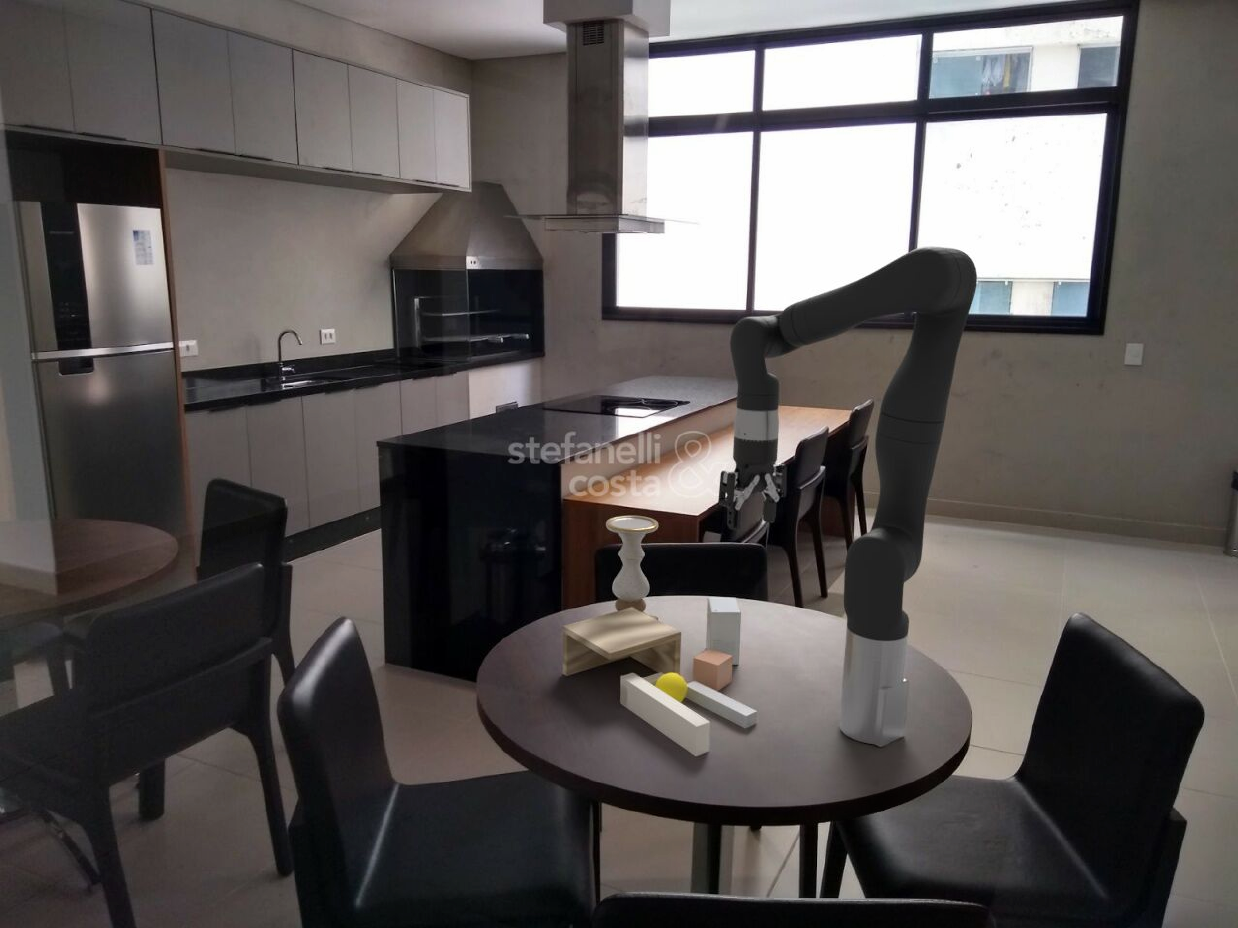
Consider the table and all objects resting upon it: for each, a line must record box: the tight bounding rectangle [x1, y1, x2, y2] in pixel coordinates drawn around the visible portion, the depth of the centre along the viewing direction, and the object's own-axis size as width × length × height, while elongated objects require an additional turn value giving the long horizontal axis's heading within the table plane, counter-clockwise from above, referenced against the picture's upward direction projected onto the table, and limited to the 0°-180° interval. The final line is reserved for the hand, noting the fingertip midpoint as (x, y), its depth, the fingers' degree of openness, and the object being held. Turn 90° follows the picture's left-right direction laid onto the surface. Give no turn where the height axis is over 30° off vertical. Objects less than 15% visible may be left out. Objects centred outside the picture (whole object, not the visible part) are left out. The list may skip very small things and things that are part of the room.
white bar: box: [619, 672, 711, 757], centre depth 143 cm, size 20×9×5 cm, turn 35°
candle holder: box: [605, 515, 659, 621], centre depth 173 cm, size 11×11×24 cm
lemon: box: [655, 673, 688, 704], centre depth 148 cm, size 7×5×5 cm
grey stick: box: [684, 680, 758, 730], centre depth 147 cm, size 14×3×2 cm, turn 41°
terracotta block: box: [692, 648, 733, 692], centre depth 156 cm, size 5×5×5 cm
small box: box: [705, 596, 742, 666], centre depth 167 cm, size 8×6×10 cm
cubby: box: [562, 607, 682, 677], centre depth 157 cm, size 14×16×9 cm
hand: (751, 525), depth 154 cm, fingers open, 8 cm apart
